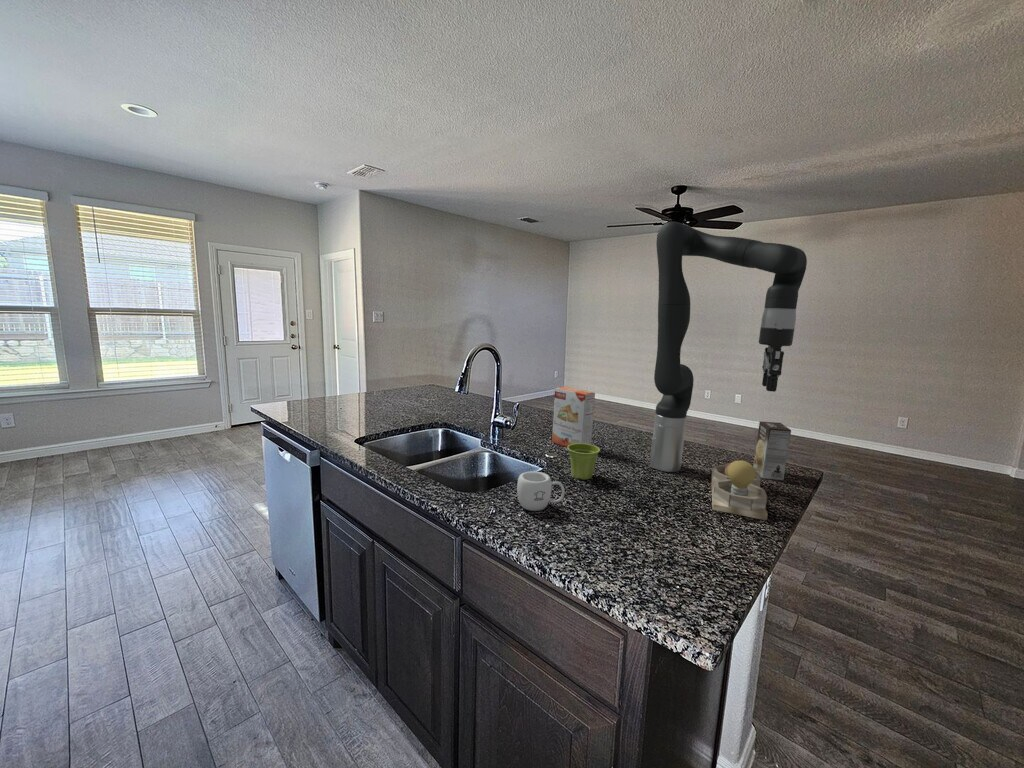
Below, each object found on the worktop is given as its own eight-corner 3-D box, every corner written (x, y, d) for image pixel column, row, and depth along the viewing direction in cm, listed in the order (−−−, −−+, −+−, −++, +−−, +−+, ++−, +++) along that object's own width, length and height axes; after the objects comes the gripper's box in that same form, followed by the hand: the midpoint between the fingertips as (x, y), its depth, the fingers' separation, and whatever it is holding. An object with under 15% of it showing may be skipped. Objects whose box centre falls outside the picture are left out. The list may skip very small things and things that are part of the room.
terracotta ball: (723, 483, 124) (726, 463, 123) (722, 477, 130) (725, 457, 129) (747, 488, 122) (750, 467, 121) (745, 480, 127) (748, 461, 126)
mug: (519, 514, 104) (520, 483, 102) (513, 499, 112) (515, 470, 111) (568, 513, 105) (570, 482, 104) (559, 498, 114) (561, 469, 112)
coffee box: (751, 468, 143) (758, 420, 140) (773, 470, 142) (780, 422, 139) (761, 478, 134) (769, 427, 131) (784, 481, 133) (792, 429, 130)
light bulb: (719, 492, 117) (724, 457, 116) (742, 492, 118) (747, 457, 116) (733, 503, 111) (738, 465, 109) (757, 503, 111) (762, 465, 110)
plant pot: (576, 484, 124) (578, 454, 122) (559, 472, 132) (561, 444, 131) (604, 480, 127) (606, 451, 126) (585, 468, 136) (587, 442, 134)
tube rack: (712, 509, 111) (714, 493, 110) (711, 476, 134) (712, 462, 133) (766, 520, 106) (769, 502, 105) (755, 483, 129) (757, 469, 129)
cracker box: (550, 442, 161) (554, 387, 158) (561, 440, 166) (565, 385, 162) (580, 452, 151) (585, 393, 148) (591, 449, 155) (595, 391, 152)
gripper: (757, 325, 120) (750, 383, 123) (764, 326, 107) (755, 391, 110) (789, 327, 117) (780, 386, 120) (800, 328, 104) (790, 394, 107)
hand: (768, 388), depth 115 cm, fingers open, 8 cm apart
